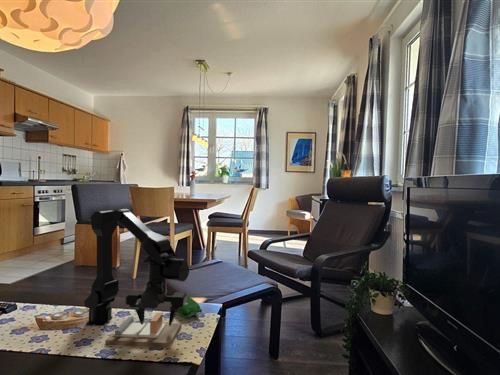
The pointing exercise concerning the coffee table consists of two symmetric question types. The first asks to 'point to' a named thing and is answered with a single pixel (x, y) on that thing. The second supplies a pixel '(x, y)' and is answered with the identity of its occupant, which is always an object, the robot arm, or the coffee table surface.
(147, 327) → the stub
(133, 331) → the white tray
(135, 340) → the board
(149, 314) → the coffee table surface
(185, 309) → the snack package
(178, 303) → the robot arm
